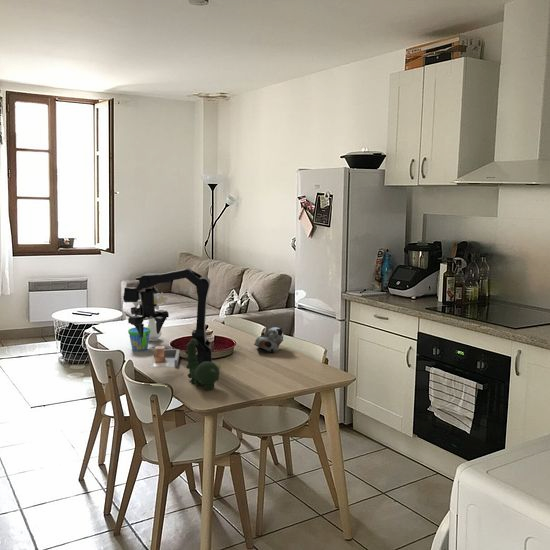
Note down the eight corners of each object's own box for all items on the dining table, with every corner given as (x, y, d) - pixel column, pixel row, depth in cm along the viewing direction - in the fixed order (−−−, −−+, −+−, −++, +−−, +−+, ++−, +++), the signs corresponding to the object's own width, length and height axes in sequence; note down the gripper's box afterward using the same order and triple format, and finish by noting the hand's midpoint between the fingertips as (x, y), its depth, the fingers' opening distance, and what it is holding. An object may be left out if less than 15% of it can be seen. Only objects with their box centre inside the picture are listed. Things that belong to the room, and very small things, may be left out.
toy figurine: (180, 382, 260) (205, 395, 239) (178, 338, 259) (203, 347, 237) (201, 378, 265) (227, 391, 244) (198, 335, 263) (225, 343, 242)
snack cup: (154, 352, 299) (153, 332, 297) (132, 355, 294) (131, 334, 293) (147, 344, 313) (146, 324, 311) (126, 346, 309) (125, 326, 307)
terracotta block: (164, 358, 287) (164, 345, 286) (163, 362, 281) (163, 349, 280) (156, 358, 287) (155, 345, 286) (154, 362, 281) (154, 349, 280)
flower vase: (130, 339, 322) (128, 292, 318) (164, 335, 331) (162, 289, 327) (138, 345, 311) (136, 296, 307) (172, 340, 320) (171, 293, 316)
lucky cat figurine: (255, 345, 310) (268, 320, 311) (277, 356, 308) (289, 331, 309) (250, 345, 295) (263, 319, 296) (272, 356, 293) (285, 330, 294)
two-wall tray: (179, 355, 293) (179, 349, 292) (177, 367, 275) (177, 360, 275) (153, 356, 292) (153, 349, 291) (150, 368, 274) (149, 361, 273)
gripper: (153, 296, 289) (155, 329, 291) (119, 303, 275) (121, 337, 277) (168, 299, 281) (170, 332, 284) (135, 306, 267) (137, 341, 270)
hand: (149, 335), depth 279 cm, fingers open, 9 cm apart
